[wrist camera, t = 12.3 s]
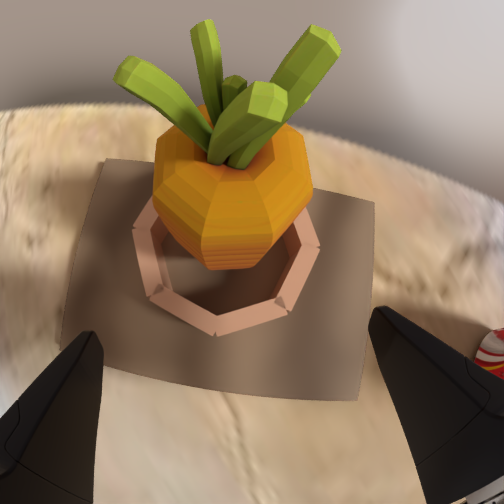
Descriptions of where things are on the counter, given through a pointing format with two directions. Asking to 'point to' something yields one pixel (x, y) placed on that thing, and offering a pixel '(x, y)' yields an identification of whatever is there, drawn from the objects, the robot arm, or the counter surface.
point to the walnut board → (225, 301)
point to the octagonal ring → (280, 302)
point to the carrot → (231, 148)
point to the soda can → (492, 353)
